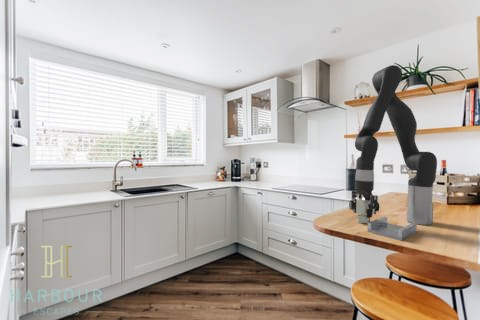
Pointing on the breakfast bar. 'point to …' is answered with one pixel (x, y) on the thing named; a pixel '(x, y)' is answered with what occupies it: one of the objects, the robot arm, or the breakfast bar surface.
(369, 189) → the robot arm
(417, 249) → the breakfast bar surface
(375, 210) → the pneumatic valve
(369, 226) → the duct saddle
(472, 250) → the breakfast bar surface
